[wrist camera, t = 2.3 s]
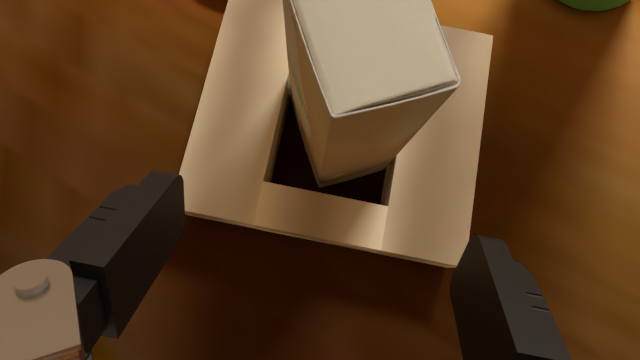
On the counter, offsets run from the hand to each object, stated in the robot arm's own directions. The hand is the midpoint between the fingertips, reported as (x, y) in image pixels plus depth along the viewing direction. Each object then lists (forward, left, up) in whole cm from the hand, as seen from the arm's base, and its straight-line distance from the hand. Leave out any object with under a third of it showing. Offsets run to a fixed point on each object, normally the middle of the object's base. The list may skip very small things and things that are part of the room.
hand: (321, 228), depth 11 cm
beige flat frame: (0, -7, -12) cm, 14 cm away
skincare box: (0, -7, -12) cm, 14 cm away
